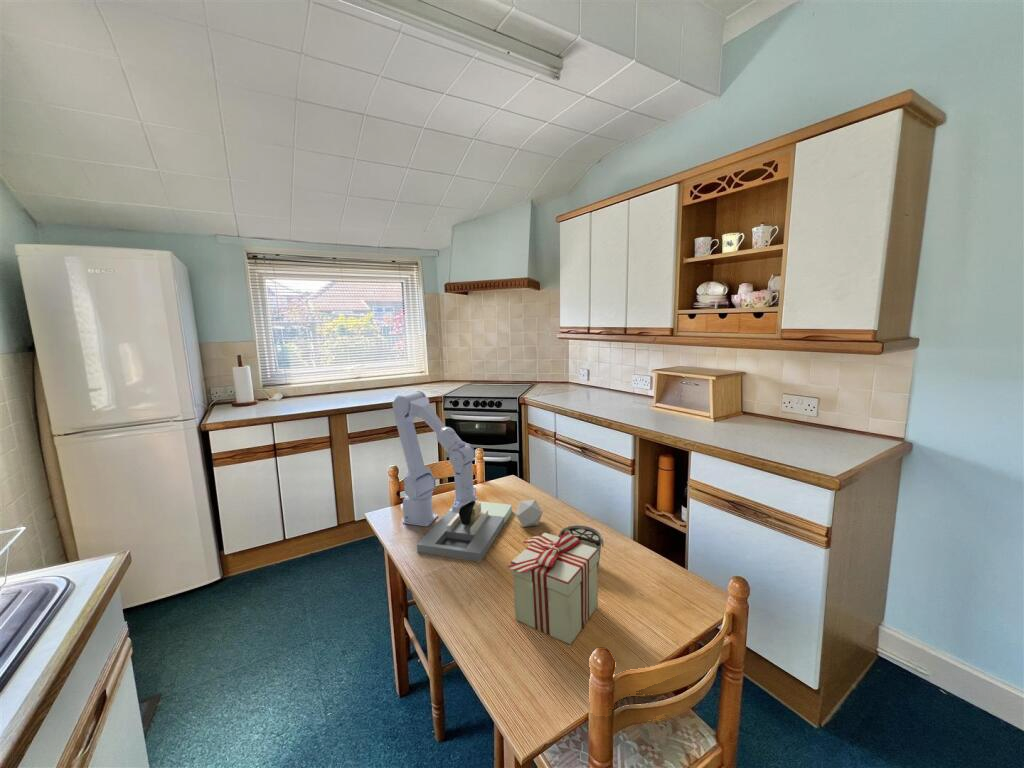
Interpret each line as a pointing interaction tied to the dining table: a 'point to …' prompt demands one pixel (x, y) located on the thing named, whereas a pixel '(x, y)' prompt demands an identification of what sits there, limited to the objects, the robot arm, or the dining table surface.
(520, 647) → the dining table surface
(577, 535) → the dark grey curved piece
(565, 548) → the gift box
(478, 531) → the trap deck
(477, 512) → the maple block
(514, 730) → the dining table surface
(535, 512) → the die
